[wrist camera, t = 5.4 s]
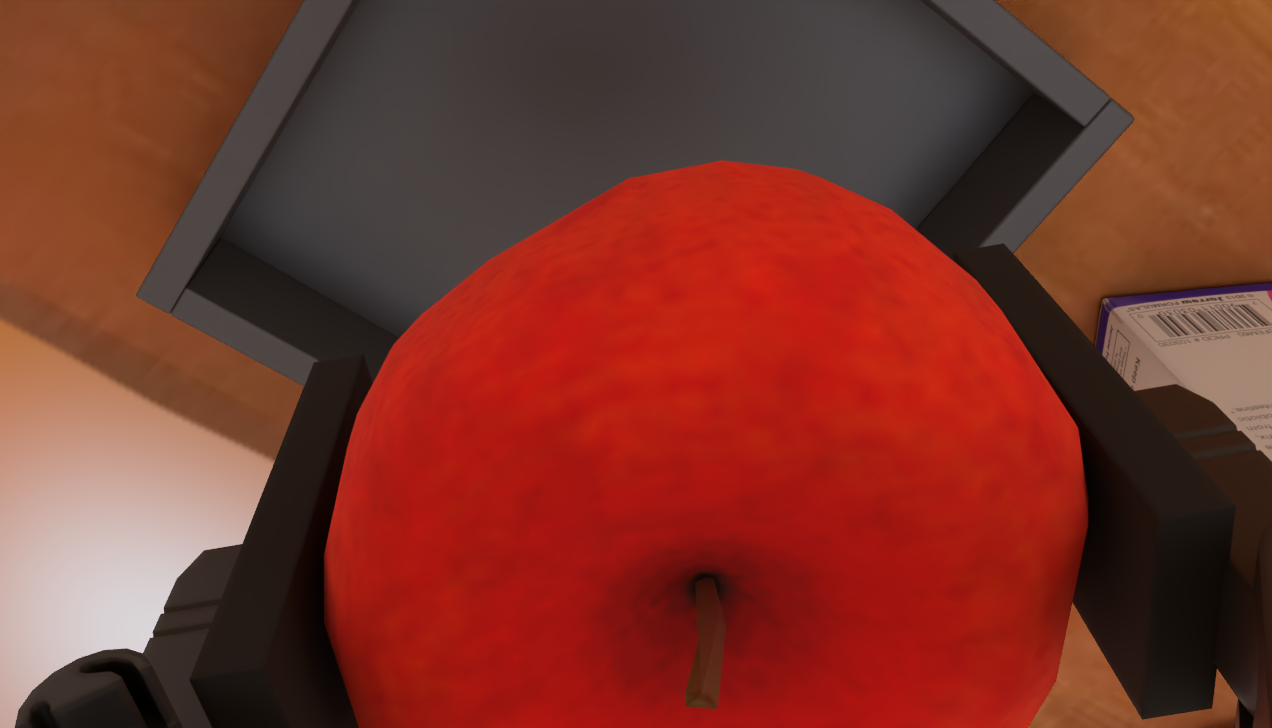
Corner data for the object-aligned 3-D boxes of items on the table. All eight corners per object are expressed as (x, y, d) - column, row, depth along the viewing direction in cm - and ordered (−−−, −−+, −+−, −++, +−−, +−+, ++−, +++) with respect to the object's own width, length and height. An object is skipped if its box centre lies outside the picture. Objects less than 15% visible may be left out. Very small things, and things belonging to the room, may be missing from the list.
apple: (610, -63, 16) (651, 93, 9) (1048, 278, 18) (1337, 597, 12) (287, 400, 19) (130, 783, 12) (705, 629, 22) (772, 1043, 15)
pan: (181, 235, 28) (134, 296, 25) (530, -372, 23) (526, -393, 19) (685, 518, 33) (699, 599, 30) (1070, 77, 28) (1137, 119, 24)
